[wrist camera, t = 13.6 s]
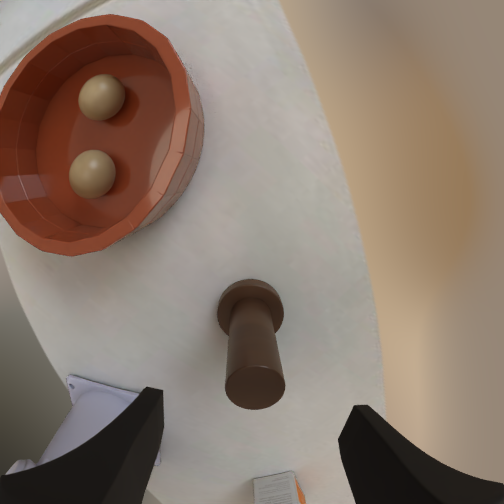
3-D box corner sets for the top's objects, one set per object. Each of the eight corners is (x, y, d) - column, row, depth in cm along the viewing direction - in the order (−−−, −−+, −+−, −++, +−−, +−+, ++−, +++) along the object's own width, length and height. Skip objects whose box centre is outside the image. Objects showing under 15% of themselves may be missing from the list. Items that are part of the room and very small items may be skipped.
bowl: (189, 248, 18) (170, 274, 13) (28, 225, 17) (-18, 239, 12) (220, 50, 15) (213, 9, 10) (53, 57, 14) (14, 36, 9)
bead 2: (93, 183, 13) (81, 216, 15) (131, 166, 15) (116, 197, 17) (65, 147, 13) (56, 182, 14) (104, 134, 15) (91, 167, 17)
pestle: (282, 334, 19) (303, 418, 12) (221, 338, 19) (211, 423, 12) (281, 276, 18) (306, 343, 11) (215, 280, 18) (198, 350, 11)
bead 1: (119, 125, 14) (118, 121, 16) (132, 76, 13) (129, 78, 15) (71, 120, 12) (76, 116, 15) (83, 69, 11) (86, 73, 14)
